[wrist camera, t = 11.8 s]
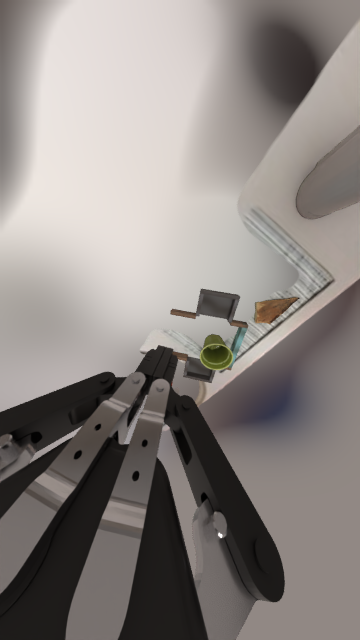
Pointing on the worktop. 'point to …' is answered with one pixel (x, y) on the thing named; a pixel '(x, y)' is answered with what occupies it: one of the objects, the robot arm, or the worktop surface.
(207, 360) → the plant pot
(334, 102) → the worktop surface
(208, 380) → the two-trap channel
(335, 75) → the worktop surface
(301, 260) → the worktop surface
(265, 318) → the shard
